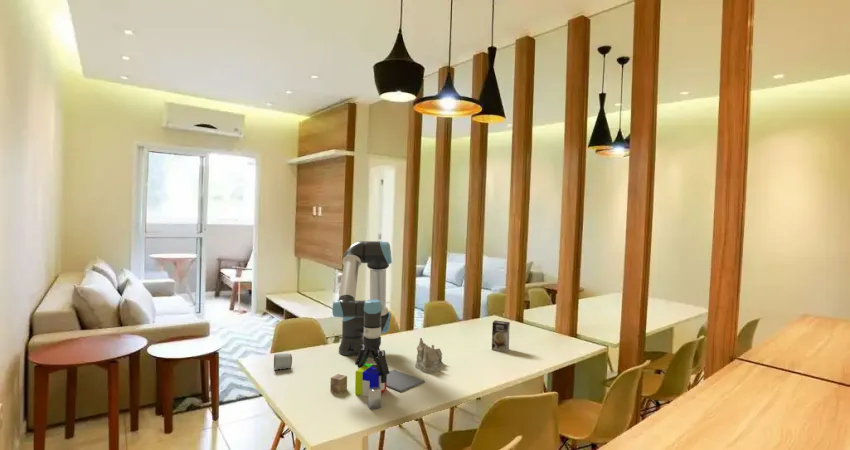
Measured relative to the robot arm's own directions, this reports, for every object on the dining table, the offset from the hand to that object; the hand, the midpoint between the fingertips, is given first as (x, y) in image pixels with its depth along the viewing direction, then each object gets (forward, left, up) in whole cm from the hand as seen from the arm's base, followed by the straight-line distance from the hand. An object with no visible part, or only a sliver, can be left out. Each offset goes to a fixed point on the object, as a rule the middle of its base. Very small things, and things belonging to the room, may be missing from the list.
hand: (371, 385), depth 183 cm
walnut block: (-11, -9, -3) cm, 15 cm away
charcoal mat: (0, +16, -2) cm, 16 cm away
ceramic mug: (-53, -11, -3) cm, 55 cm away
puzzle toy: (0, 0, -3) cm, 3 cm away
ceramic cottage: (-1, +41, -3) cm, 41 cm away
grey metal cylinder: (+12, -9, -2) cm, 15 cm away
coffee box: (+10, +91, -3) cm, 92 cm away
